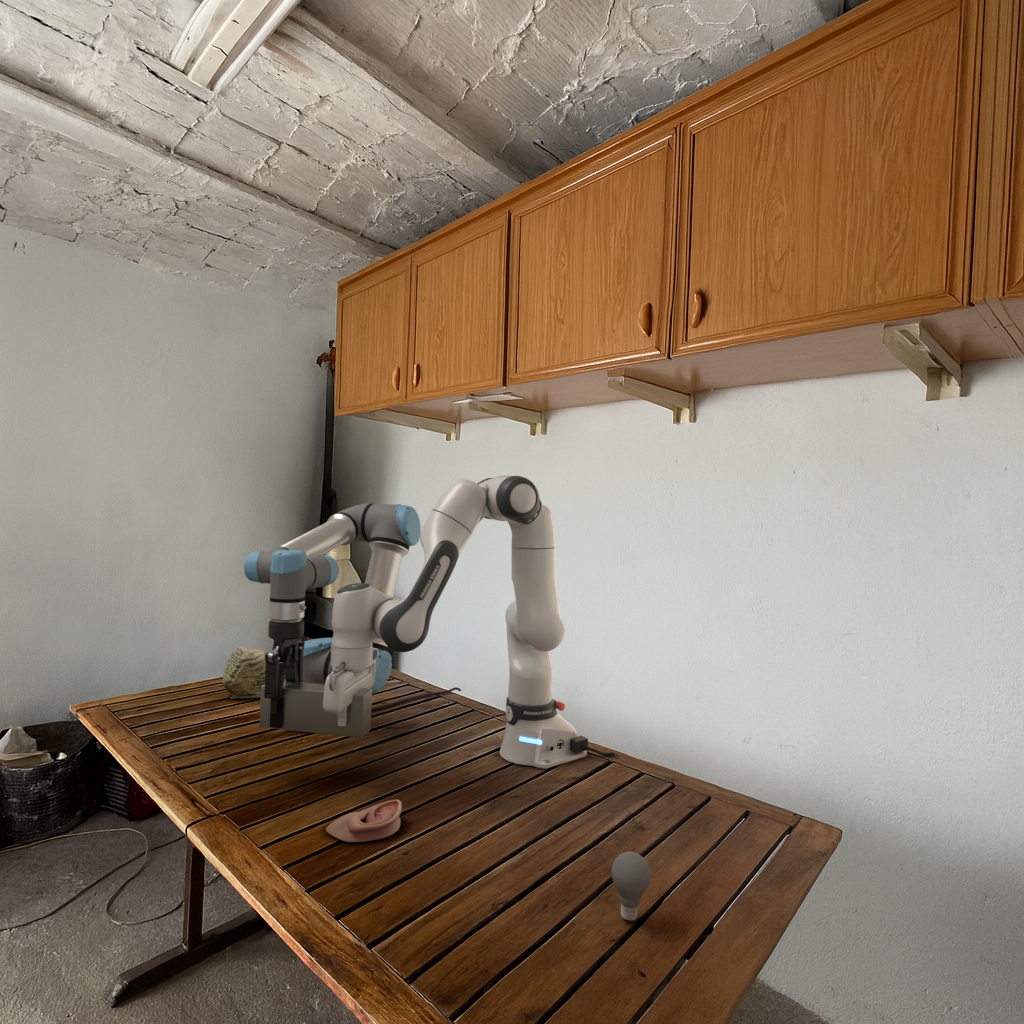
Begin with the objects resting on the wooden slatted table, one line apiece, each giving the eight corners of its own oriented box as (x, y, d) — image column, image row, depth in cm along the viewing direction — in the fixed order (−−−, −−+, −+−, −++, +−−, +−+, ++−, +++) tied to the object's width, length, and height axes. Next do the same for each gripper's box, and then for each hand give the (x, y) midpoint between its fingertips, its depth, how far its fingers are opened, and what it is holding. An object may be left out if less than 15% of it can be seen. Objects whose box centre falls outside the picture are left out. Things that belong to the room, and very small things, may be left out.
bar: (259, 727, 140) (260, 686, 140) (271, 719, 145) (273, 679, 145) (361, 738, 136) (363, 695, 136) (370, 729, 142) (372, 688, 141)
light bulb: (605, 905, 101) (608, 843, 101) (642, 905, 102) (645, 843, 102) (614, 931, 95) (617, 865, 95) (653, 930, 96) (656, 865, 96)
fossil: (218, 695, 195) (220, 647, 195) (278, 685, 208) (279, 640, 207) (228, 703, 189) (230, 653, 188) (289, 692, 201) (290, 645, 201)
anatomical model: (318, 816, 117) (346, 789, 129) (317, 837, 118) (346, 808, 129) (385, 827, 115) (408, 798, 126) (384, 848, 115) (407, 818, 126)
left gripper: (281, 628, 132) (277, 739, 132) (320, 613, 150) (317, 711, 150) (248, 626, 133) (244, 735, 134) (291, 611, 151) (287, 708, 152)
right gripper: (345, 670, 129) (343, 738, 129) (381, 648, 149) (379, 706, 149) (316, 668, 130) (313, 735, 130) (355, 646, 150) (353, 704, 150)
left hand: (282, 722), depth 142 cm, fingers closed on bar, 5 cm apart
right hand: (349, 719), depth 140 cm, fingers closed on bar, 5 cm apart
